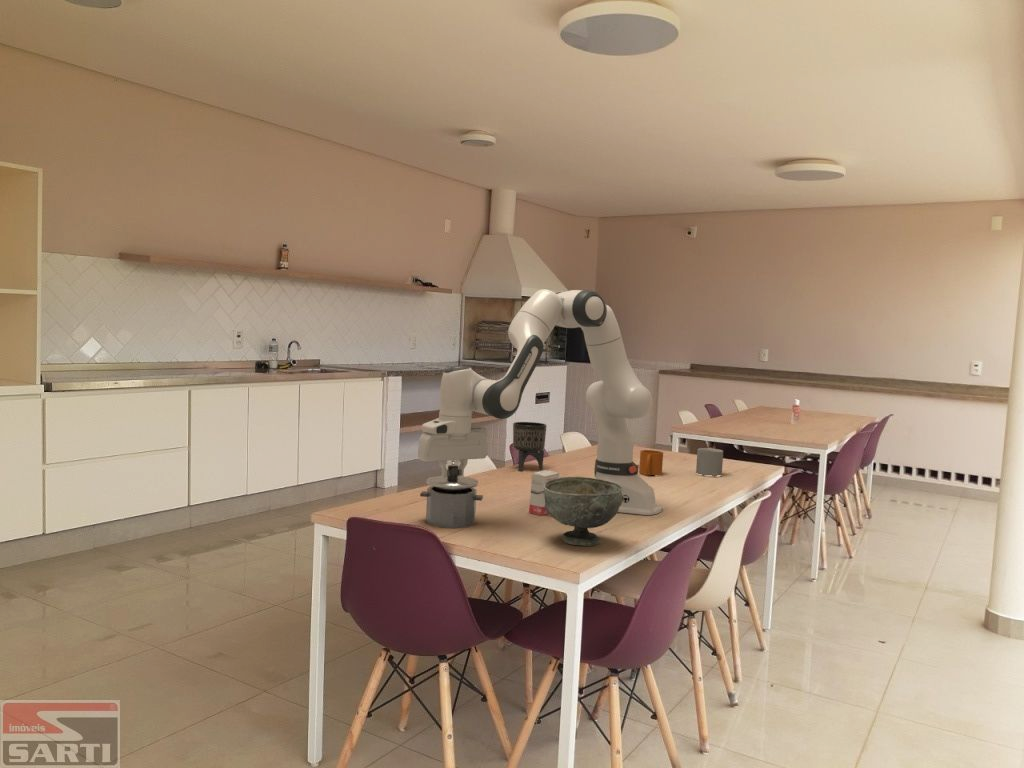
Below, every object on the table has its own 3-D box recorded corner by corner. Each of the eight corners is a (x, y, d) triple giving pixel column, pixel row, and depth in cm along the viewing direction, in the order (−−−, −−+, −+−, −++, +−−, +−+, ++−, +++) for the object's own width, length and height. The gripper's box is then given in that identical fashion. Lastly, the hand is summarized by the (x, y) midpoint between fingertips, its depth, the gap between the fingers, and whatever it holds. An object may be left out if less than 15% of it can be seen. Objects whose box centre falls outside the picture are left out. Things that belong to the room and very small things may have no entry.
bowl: (531, 545, 196) (534, 485, 195) (555, 528, 214) (558, 473, 213) (608, 556, 189) (612, 494, 188) (626, 538, 207) (630, 482, 206)
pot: (484, 518, 221) (485, 486, 220) (477, 529, 208) (479, 496, 207) (425, 514, 223) (426, 482, 222) (415, 525, 210) (416, 491, 209)
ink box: (543, 516, 228) (545, 475, 227) (528, 513, 231) (530, 473, 230) (557, 511, 235) (559, 471, 234) (543, 508, 238) (545, 469, 237)
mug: (632, 475, 304) (633, 452, 304) (644, 471, 314) (645, 449, 314) (653, 478, 300) (655, 454, 299) (665, 474, 310) (666, 451, 309)
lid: (485, 485, 219) (486, 465, 219) (466, 494, 206) (467, 472, 205) (439, 480, 224) (440, 459, 223) (417, 488, 210) (418, 467, 210)
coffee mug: (717, 478, 307) (719, 452, 306) (692, 474, 311) (694, 449, 311) (726, 473, 318) (728, 449, 317) (702, 470, 323) (704, 446, 322)
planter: (533, 473, 296) (535, 426, 295) (504, 469, 303) (506, 423, 302) (550, 469, 307) (552, 424, 306) (522, 465, 314) (524, 421, 313)
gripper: (481, 423, 222) (478, 472, 223) (416, 425, 210) (414, 476, 211) (493, 426, 217) (490, 475, 218) (427, 428, 205) (425, 480, 206)
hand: (452, 476), depth 214 cm, fingers closed on lid, 3 cm apart
